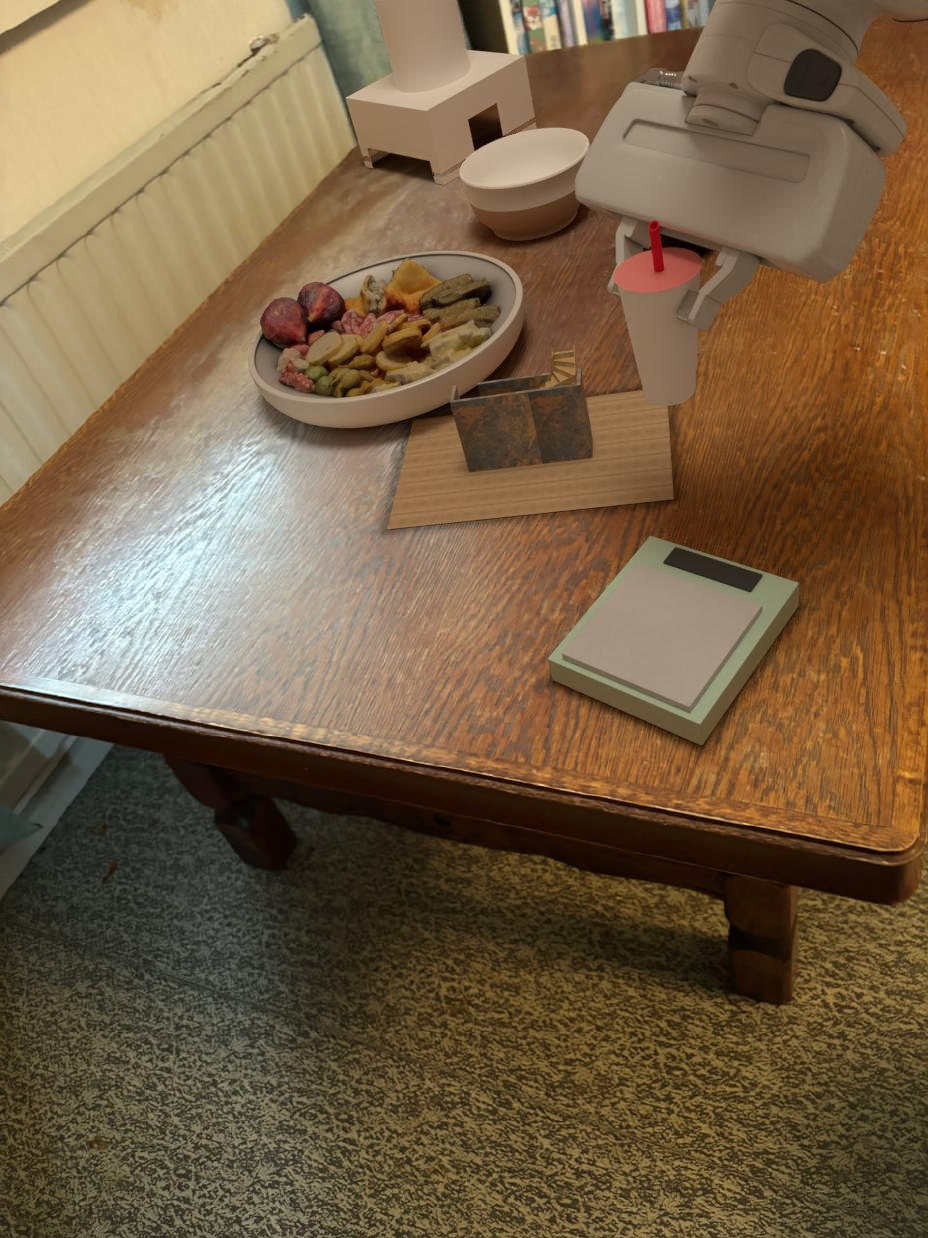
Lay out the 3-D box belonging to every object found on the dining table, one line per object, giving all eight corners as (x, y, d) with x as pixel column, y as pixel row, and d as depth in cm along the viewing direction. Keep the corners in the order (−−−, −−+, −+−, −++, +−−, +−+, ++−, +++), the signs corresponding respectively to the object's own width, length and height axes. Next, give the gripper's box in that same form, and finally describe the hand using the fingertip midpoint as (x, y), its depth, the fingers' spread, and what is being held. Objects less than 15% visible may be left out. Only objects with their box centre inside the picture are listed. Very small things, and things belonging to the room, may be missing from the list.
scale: (799, 606, 69) (799, 576, 67) (702, 746, 63) (699, 718, 61) (652, 557, 76) (649, 529, 74) (552, 680, 70) (545, 653, 68)
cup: (685, 421, 63) (670, 247, 54) (615, 406, 66) (590, 238, 57) (725, 376, 65) (715, 201, 57) (655, 363, 68) (636, 195, 60)
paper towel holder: (365, 166, 148) (298, -64, 127) (454, 115, 154) (404, -112, 133) (443, 184, 136) (383, -66, 115) (536, 128, 142) (496, -118, 121)
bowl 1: (557, 279, 109) (545, 212, 104) (491, 440, 90) (472, 367, 85) (323, 300, 120) (302, 239, 115) (220, 448, 101) (188, 383, 96)
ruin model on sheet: (666, 386, 91) (657, 292, 84) (673, 499, 80) (664, 400, 73) (412, 420, 97) (385, 334, 90) (387, 529, 86) (353, 441, 79)
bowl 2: (598, 180, 125) (590, 116, 120) (597, 237, 115) (588, 170, 109) (478, 202, 129) (465, 142, 124) (467, 260, 118) (451, 196, 113)
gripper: (608, 40, 61) (519, 255, 65) (887, 77, 48) (753, 344, 52) (665, 87, 66) (578, 285, 70) (935, 132, 52) (808, 375, 56)
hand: (655, 311), depth 61 cm, fingers closed on cup, 5 cm apart
